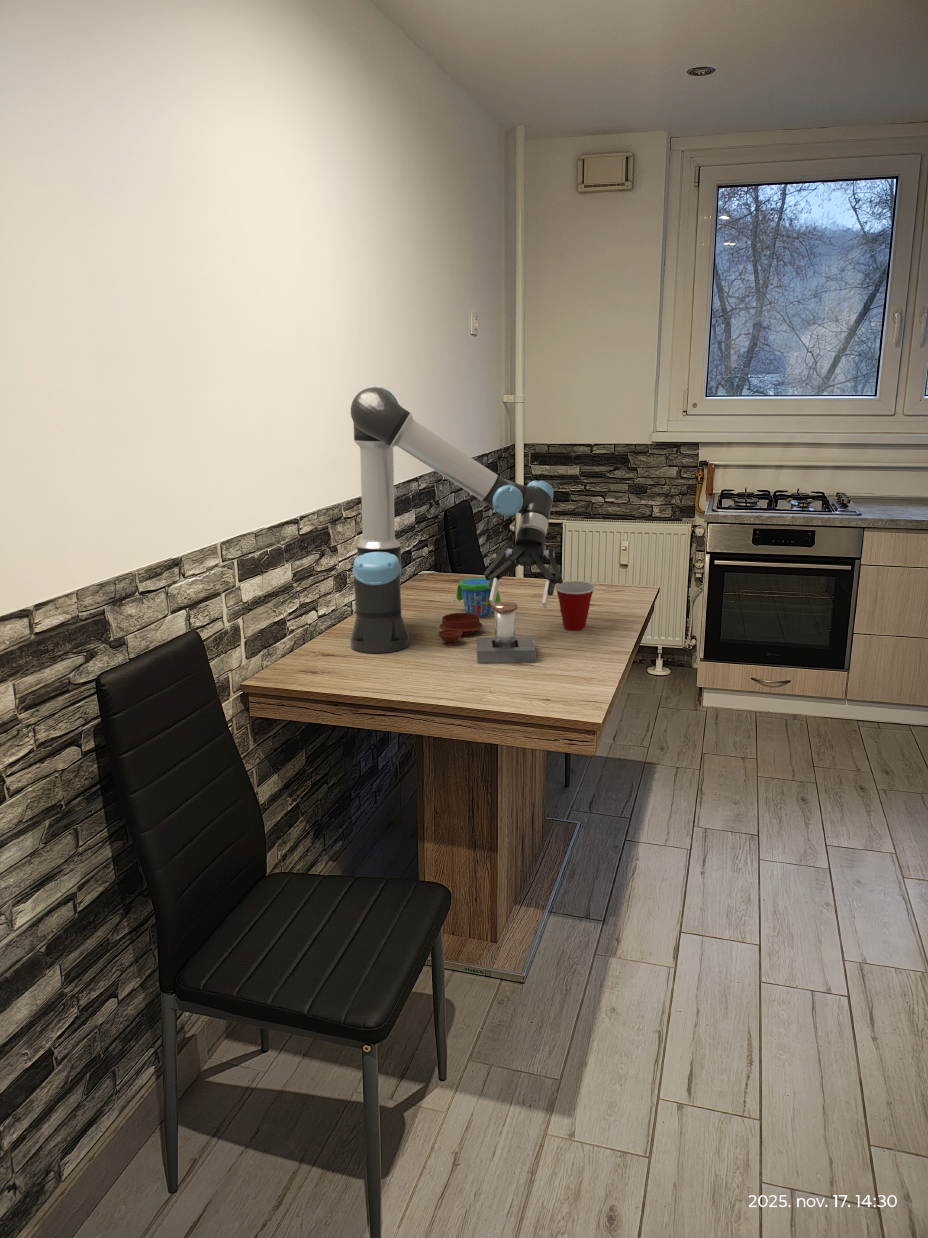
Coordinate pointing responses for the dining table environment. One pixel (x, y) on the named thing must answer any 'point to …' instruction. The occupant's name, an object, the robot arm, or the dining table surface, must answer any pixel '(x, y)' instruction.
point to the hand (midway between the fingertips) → (517, 604)
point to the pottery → (458, 626)
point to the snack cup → (476, 596)
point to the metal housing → (505, 651)
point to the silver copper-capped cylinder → (504, 624)
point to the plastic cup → (574, 603)
